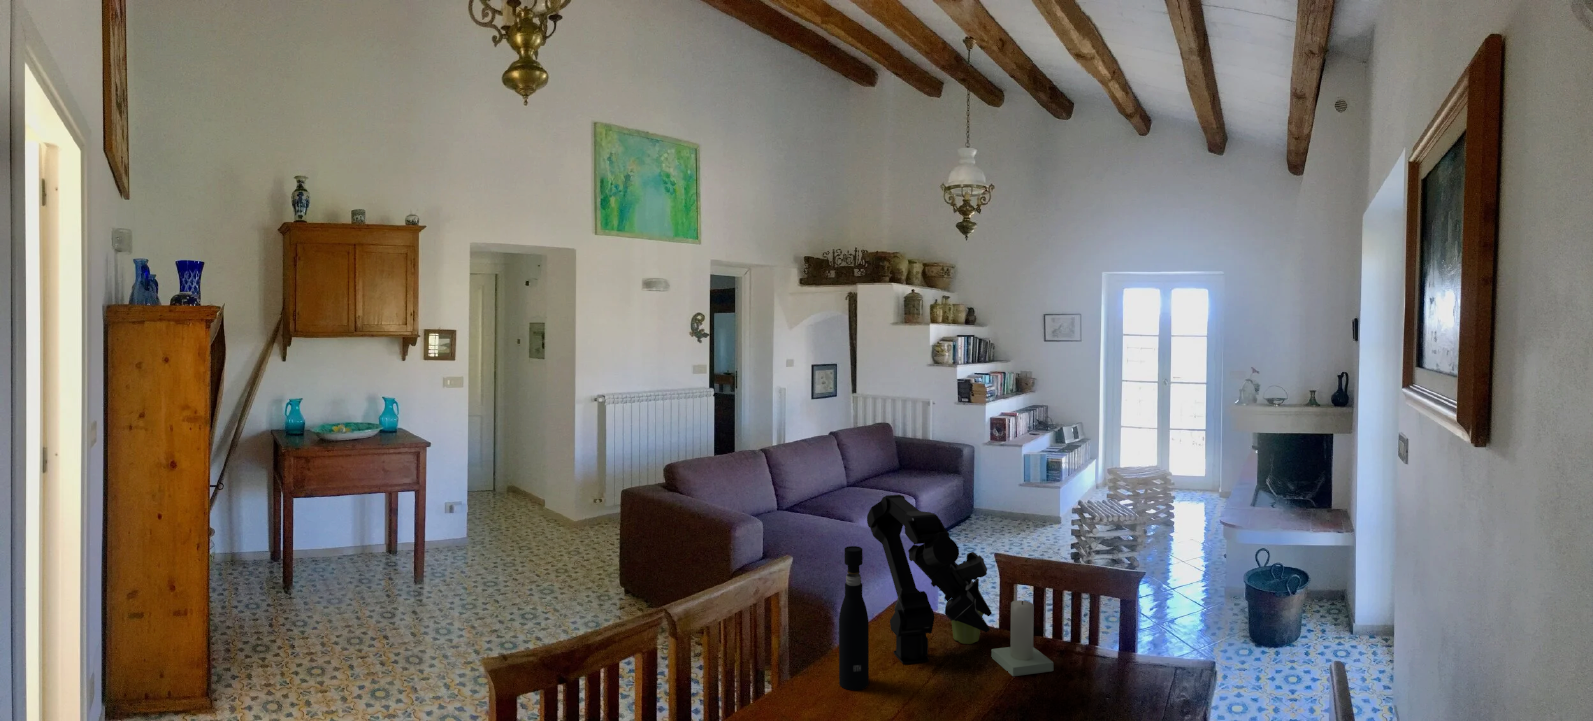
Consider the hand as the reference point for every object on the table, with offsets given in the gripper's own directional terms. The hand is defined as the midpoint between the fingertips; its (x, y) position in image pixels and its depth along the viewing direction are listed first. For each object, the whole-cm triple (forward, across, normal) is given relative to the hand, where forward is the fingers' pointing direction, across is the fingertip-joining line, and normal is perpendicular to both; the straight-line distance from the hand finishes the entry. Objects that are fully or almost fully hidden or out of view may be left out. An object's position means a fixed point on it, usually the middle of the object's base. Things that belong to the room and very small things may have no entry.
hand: (989, 622), depth 178 cm
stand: (+14, +12, +5) cm, 19 cm away
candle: (+13, +12, +3) cm, 18 cm away
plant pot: (+5, +23, +14) cm, 27 cm away
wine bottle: (-10, -7, +30) cm, 32 cm away
